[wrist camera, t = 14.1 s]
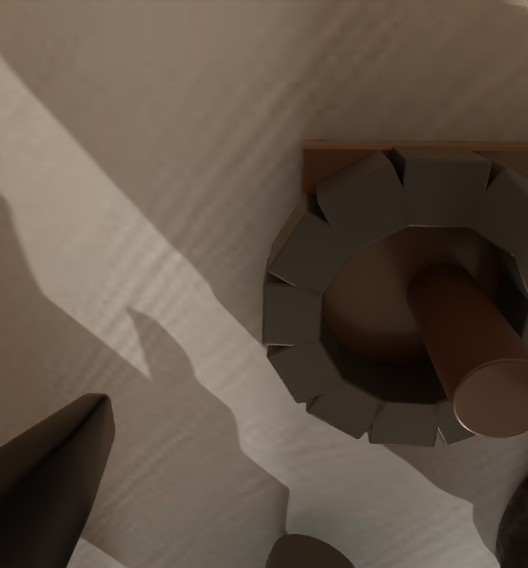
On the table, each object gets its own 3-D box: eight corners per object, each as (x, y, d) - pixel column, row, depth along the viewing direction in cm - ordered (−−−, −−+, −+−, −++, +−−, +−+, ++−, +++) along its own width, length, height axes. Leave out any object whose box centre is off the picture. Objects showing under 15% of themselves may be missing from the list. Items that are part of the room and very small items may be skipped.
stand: (295, 381, 17) (290, 532, 12) (302, 139, 14) (299, 190, 8) (538, 392, 17) (655, 556, 11) (609, 142, 13) (832, 198, 8)
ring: (266, 396, 16) (261, 437, 15) (269, 142, 13) (264, 155, 11) (519, 410, 16) (548, 455, 14) (595, 149, 12) (645, 164, 10)
